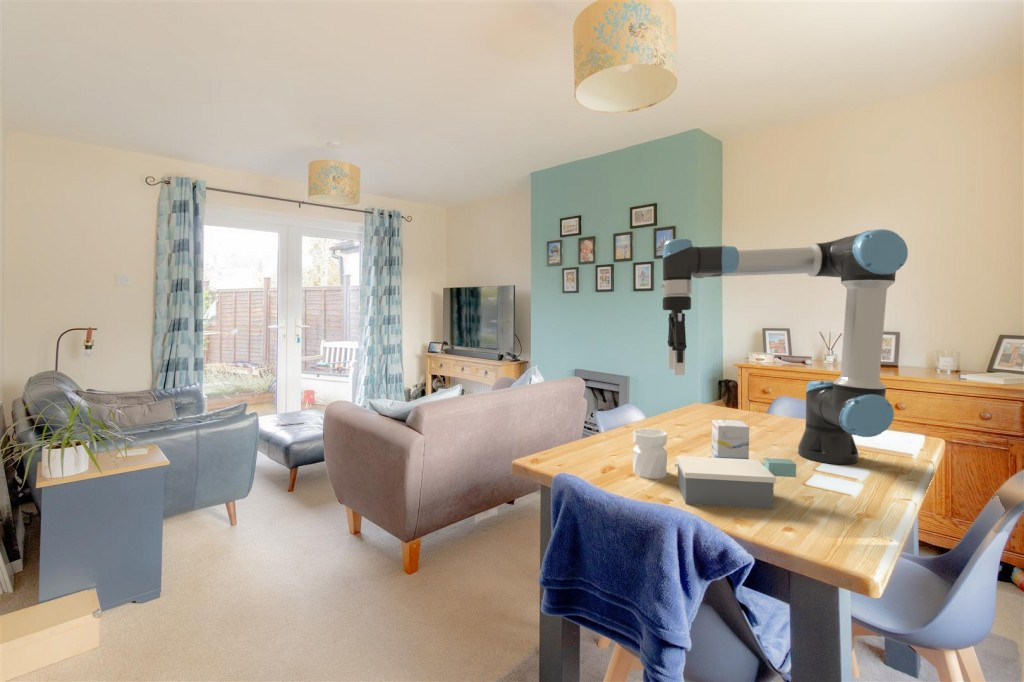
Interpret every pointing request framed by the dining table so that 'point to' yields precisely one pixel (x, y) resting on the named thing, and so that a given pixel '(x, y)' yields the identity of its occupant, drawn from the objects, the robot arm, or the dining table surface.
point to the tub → (726, 492)
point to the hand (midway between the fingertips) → (676, 372)
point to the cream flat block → (736, 468)
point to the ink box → (730, 439)
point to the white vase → (650, 453)
